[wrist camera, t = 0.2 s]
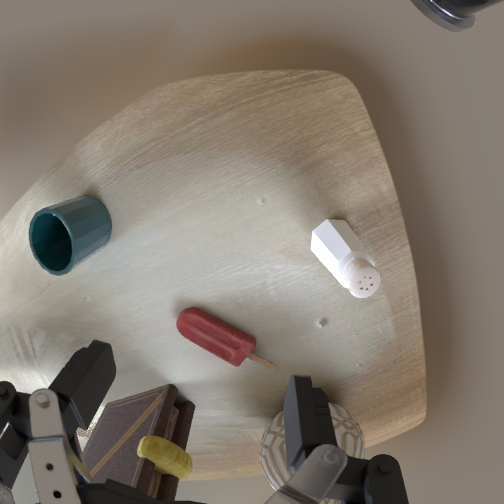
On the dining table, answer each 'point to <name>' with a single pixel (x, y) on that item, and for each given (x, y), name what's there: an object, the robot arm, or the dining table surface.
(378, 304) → the dining table surface
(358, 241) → the pepper shaker
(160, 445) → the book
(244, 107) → the dining table surface
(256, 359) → the popsicle
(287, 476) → the vase
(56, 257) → the cup
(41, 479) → the robot arm
